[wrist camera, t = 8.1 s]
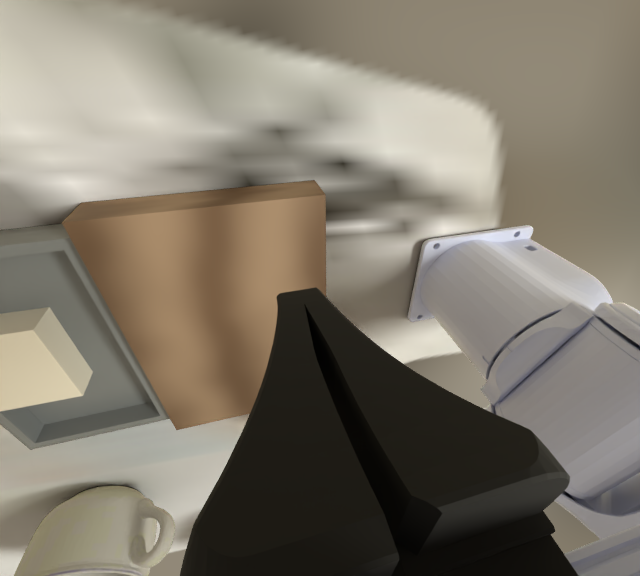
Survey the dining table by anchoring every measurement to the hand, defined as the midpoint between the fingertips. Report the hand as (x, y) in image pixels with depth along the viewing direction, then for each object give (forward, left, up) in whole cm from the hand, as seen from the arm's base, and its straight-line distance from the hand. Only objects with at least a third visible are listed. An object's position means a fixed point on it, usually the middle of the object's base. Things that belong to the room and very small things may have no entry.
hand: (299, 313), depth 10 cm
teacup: (+19, +30, -11) cm, 37 cm away
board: (+3, +8, -10) cm, 14 cm away
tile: (+16, +8, -8) cm, 20 cm away
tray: (+15, +8, -10) cm, 20 cm away
